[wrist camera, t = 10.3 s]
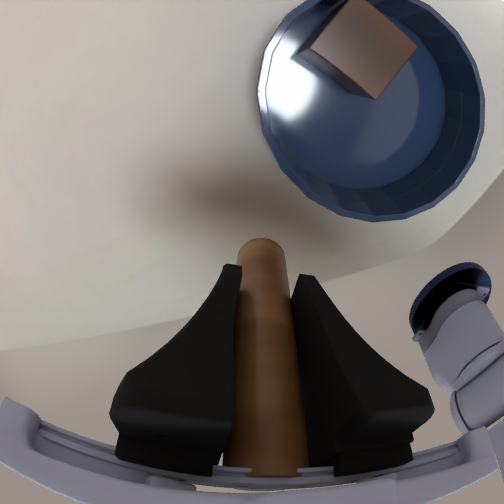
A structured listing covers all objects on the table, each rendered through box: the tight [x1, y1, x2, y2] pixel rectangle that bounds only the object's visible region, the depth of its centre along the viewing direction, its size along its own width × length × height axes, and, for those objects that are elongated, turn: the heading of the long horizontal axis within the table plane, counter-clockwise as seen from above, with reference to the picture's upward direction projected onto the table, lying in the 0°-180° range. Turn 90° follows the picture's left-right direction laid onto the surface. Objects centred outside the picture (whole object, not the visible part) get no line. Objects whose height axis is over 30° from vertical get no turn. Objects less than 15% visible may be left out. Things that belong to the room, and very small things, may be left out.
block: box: [298, 0, 418, 100], centre depth 12 cm, size 4×4×4 cm
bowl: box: [257, 0, 485, 222], centre depth 14 cm, size 13×13×4 cm
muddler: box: [223, 238, 309, 491], centre depth 11 cm, size 2×2×11 cm
